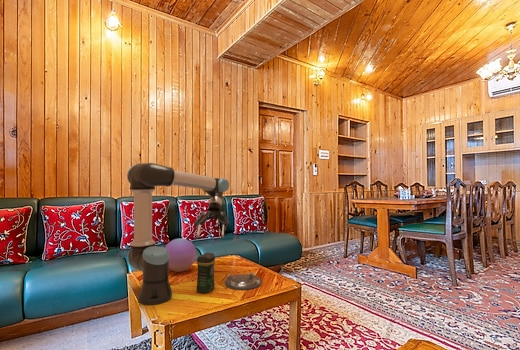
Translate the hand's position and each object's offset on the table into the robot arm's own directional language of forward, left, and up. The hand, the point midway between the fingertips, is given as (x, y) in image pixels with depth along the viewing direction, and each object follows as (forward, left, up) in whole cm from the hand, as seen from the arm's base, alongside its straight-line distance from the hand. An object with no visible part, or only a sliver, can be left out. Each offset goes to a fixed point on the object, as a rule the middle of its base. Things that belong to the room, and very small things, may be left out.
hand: (210, 235), depth 157 cm
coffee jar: (+5, -9, -26) cm, 28 cm away
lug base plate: (+16, +9, -26) cm, 32 cm away
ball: (-29, +6, -26) cm, 39 cm away
